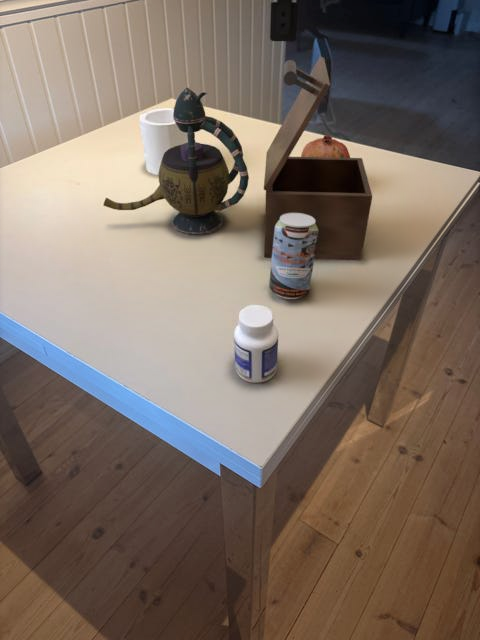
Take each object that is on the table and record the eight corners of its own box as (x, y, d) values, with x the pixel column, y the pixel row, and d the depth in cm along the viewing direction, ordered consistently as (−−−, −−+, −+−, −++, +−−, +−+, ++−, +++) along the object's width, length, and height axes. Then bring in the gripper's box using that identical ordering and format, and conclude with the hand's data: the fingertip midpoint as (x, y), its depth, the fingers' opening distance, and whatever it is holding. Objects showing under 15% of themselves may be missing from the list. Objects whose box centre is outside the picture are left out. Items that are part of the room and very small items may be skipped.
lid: (324, 58, 73) (293, 39, 71) (330, 86, 62) (294, 64, 61) (270, 154, 83) (242, 139, 82) (268, 191, 73) (235, 175, 71)
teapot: (249, 237, 85) (250, 97, 70) (104, 245, 84) (72, 104, 68) (242, 204, 94) (241, 74, 79) (112, 211, 93) (85, 79, 77)
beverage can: (265, 302, 72) (267, 231, 64) (274, 273, 77) (277, 204, 69) (307, 308, 70) (315, 236, 62) (314, 278, 76) (322, 209, 68)
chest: (352, 217, 90) (362, 157, 82) (360, 260, 79) (372, 196, 72) (266, 215, 91) (268, 156, 83) (264, 257, 80) (265, 193, 73)
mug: (153, 150, 114) (147, 103, 107) (196, 150, 114) (193, 103, 107) (142, 175, 104) (134, 125, 97) (189, 176, 104) (185, 125, 97)
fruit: (358, 187, 99) (366, 138, 92) (323, 202, 94) (329, 151, 88) (320, 170, 105) (325, 122, 99) (286, 183, 101) (289, 134, 94)
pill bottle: (274, 352, 64) (276, 299, 58) (279, 382, 60) (282, 329, 54) (233, 354, 63) (232, 302, 58) (236, 385, 60) (234, 332, 54)
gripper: (331, -156, 46) (314, 48, 57) (323, -146, 59) (311, 19, 70) (251, -155, 46) (250, 47, 58) (261, -145, 59) (259, 18, 70)
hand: (283, 31), depth 64 cm, fingers open, 9 cm apart
